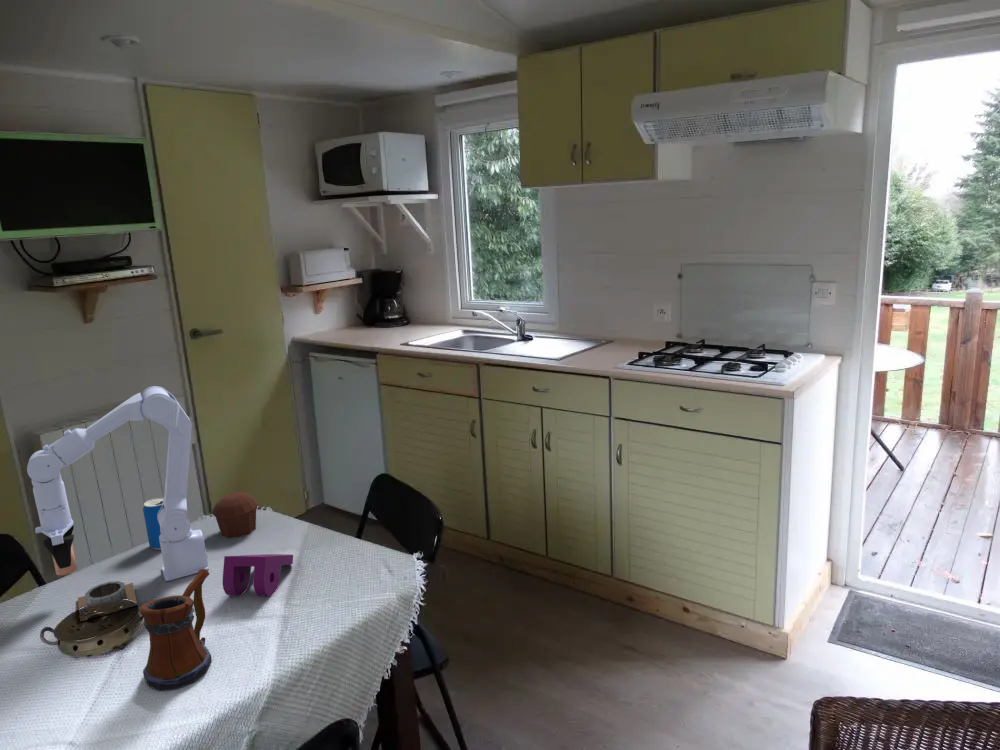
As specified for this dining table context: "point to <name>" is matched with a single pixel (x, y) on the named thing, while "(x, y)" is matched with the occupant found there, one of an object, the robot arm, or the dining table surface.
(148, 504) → the beverage can
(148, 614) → the mug
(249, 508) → the muffin
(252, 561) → the mounting bracket
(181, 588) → the dining table surface
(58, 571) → the rail post
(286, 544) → the dining table surface
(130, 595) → the cup bracket
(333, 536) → the dining table surface
